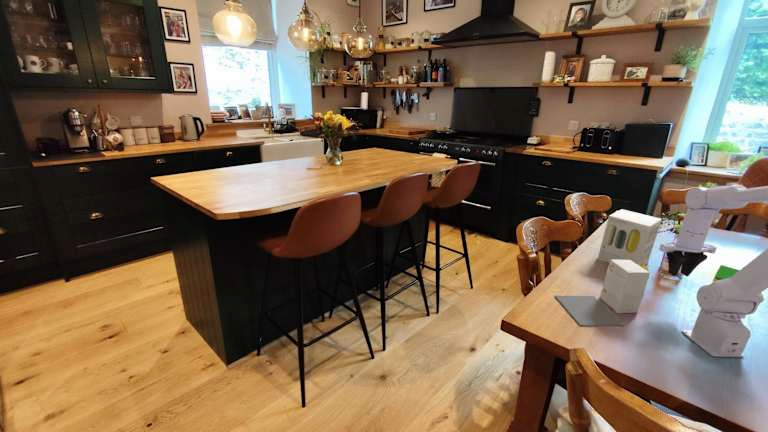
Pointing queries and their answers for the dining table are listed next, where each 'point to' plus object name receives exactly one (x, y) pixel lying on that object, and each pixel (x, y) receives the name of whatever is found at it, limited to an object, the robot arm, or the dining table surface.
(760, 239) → the dining table surface
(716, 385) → the dining table surface
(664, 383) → the dining table surface
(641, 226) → the supplement box
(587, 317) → the slate rubber mat
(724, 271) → the dish sponge
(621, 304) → the small box
